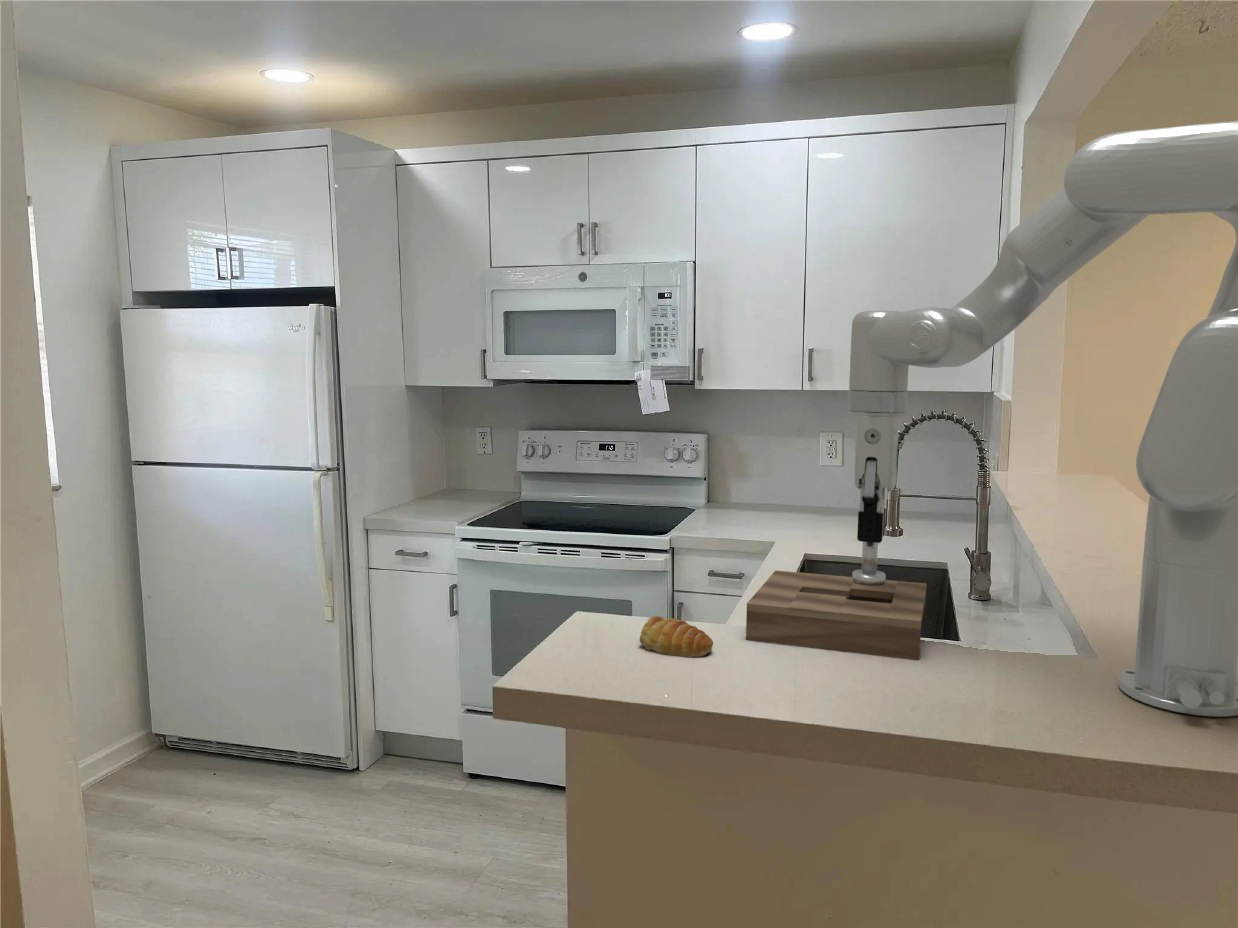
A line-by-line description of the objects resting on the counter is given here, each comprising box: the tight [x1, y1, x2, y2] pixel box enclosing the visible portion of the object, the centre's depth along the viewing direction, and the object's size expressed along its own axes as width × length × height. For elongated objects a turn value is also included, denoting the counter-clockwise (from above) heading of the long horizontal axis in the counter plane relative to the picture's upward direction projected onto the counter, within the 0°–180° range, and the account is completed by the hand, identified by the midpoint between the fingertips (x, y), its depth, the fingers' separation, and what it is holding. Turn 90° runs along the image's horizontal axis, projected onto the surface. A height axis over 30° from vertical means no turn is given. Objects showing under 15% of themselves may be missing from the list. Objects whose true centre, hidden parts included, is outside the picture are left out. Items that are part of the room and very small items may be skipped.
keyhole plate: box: [745, 569, 927, 661], centre depth 124 cm, size 20×22×5 cm
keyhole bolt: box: [851, 499, 887, 586], centre depth 122 cm, size 4×4×12 cm
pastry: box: [639, 615, 714, 658], centre depth 115 cm, size 9×7×4 cm
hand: (870, 537), depth 122 cm, fingers closed on keyhole bolt, 3 cm apart
